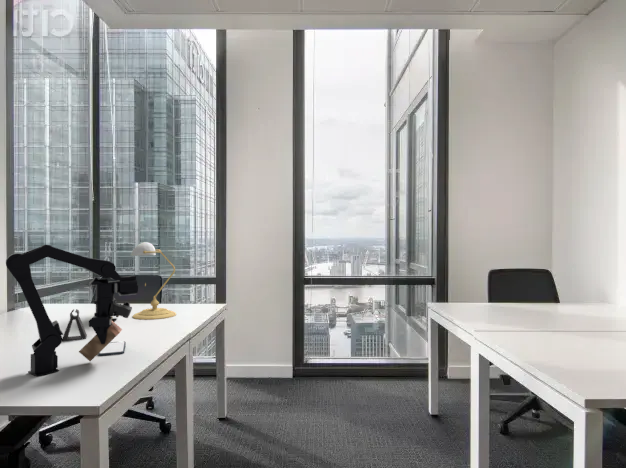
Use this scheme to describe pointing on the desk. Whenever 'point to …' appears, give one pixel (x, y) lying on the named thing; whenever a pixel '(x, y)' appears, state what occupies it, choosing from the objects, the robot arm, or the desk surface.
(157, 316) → the desk lamp
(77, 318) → the phone stand
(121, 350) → the phone case
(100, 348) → the wooden block
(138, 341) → the desk surface
